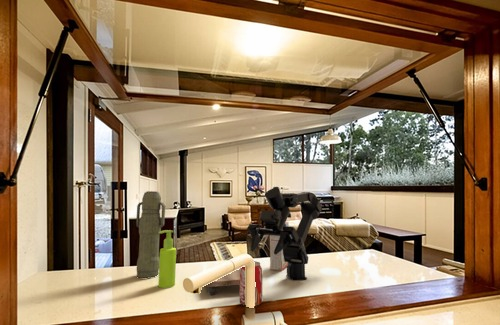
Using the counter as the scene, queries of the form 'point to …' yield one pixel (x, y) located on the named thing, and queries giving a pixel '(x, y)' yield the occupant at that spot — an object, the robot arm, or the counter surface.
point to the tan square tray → (224, 281)
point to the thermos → (149, 234)
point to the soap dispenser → (167, 262)
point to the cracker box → (278, 259)
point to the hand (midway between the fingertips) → (262, 252)
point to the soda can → (258, 284)
